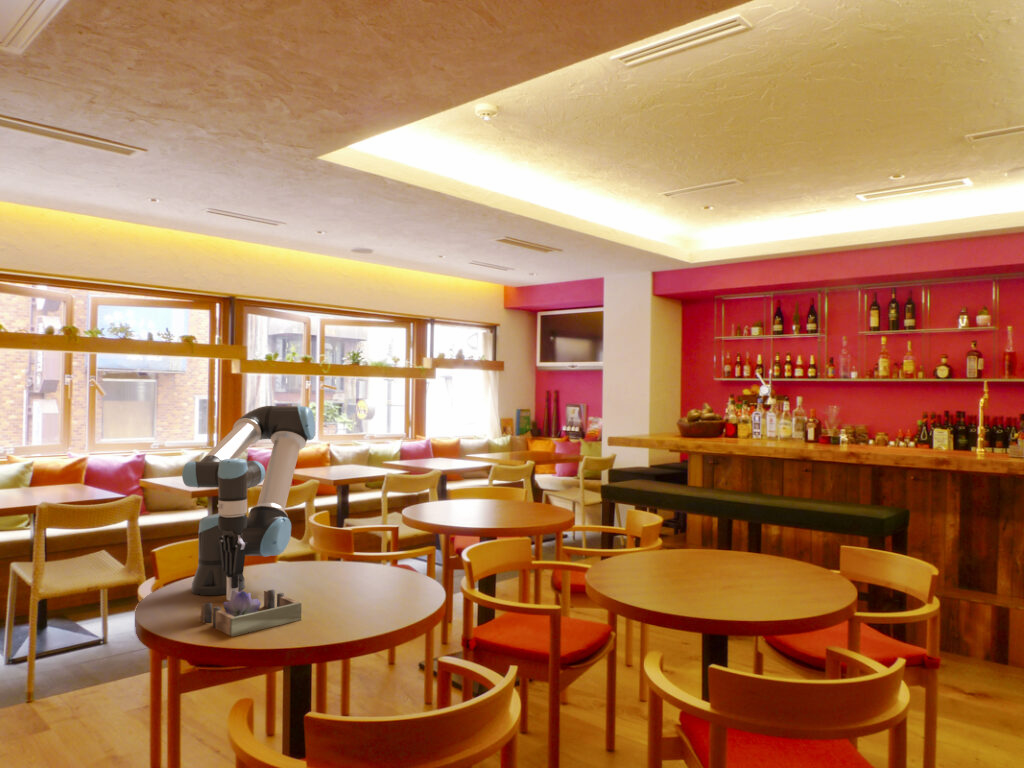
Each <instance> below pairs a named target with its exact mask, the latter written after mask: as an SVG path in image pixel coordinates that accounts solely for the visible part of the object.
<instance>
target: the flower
mask: <svg viewBox="0 0 1024 768" xmlns="http://www.w3.org/2000/svg"><path fill="white" fill-rule="evenodd" d="M261 603H262V602H261V601H260V600H259V599H258V598H252V593H251V592H246V591H243V589H241V590H239V591H237V592H236V590H233V591H232V594H231V600H228V601H224V602H223V604H222V605H223V608H224V612H226V613H228V614H230V615H232V616H234V617H236V616H241V615H245V614H249V613H254V612H258V611H259V609H260V606H261Z"/></svg>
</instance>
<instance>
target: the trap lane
mask: <svg viewBox="0 0 1024 768" xmlns="http://www.w3.org/2000/svg"><path fill="white" fill-rule="evenodd" d="M275 591H276V590H275V589H268V590H264V591H263V607H264V608H266V607H267V608H266V609H263V610H258V611H257V612H254V613H249V614H245V615H241V616H236V617H234V616H232V615H230V614H228V613H226V611H225V610H221V609H222V608H221V607H222V606H213V603H212V602H206V603H201V604H200V622H202V621H204V622H203V623H204V624H205V623H210V624H212V629H216V628H217V629H216V630H218V629H219V630H218V631H220V630H221V631H220V632H222V631H223V633H224V634H226V635H228V636H230V637H232V638H233V637H236V636H240V635H245V634H248V632H249V633H252V631H253V632H257V631H261V630H265V629H269V628H273V627H277V626H281V625H285V624H288V623H289V624H290V623H292V622H293V623H294V622H298V621H301V620H302V602H300V601H298V600H294V599H292V598H289V597H287V596H285V593H284V592H279V593H277V594H275V593H276V592H275ZM275 598H276V601H275ZM275 603H276V604H275ZM275 605H276V607H275ZM260 629H261V630H260ZM256 630H257V631H256Z"/></svg>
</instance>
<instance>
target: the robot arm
mask: <svg viewBox="0 0 1024 768" xmlns="http://www.w3.org/2000/svg"><path fill="white" fill-rule="evenodd" d="M315 435H316V421H315V416H314V412H313V410H312V409H311V408H310V407H309V406H303V405H301V406H300V405H297V406H296V405H263V406H259V407H256V408H255V409H253V410H250V411H249V412H247V413H245V414H243V415H242V416H241V417H240V418H238V419H237V420H236V421H235V423H234V424H233V426H232V430H230V432H228V433H227V435H225V436H224V437H223V438H222V439H221V440H220V442H218V443H217V444H216V445H215V446H214V447H213V448H212V449H211V450H210V451H209V452H207V454H206V455H204V457H203V458H202V459H201V460H199V461H197V460H193V461H188V462H186V463H185V464H184V466H183V469H182V471H181V473H182V474H181V478H182V481H183V484H184V485H185V486H186V487H188V488H197V489H199V488H217V489H218V490H217V491H218V498H217V500H218V504H217V505H216V507H217V508H218V509H217V510H218V512H217V513H215V514H209V515H206V516H203V517H202V518H201V519H200V520H199V525H198V565H197V568H196V571H195V574H194V577H193V580H192V582H191V592H192V594H194V593H195V594H194V595H198V594H200V596H219V595H226V600H227V601H230V600H231V594H232V591H233V590H236V592H237V591H238V592H240V590H243V589H245V587H246V586H245V584H246V583H245V581H246V580H245V576H244V569H245V567H244V566H245V559H246V556H250V557H251V556H252V557H270V556H272V557H273V556H279V555H280V554H282V553H284V551H285V550H286V549H287V547H288V545H289V543H290V540H291V536H292V535H291V534H292V522H291V521H290V518H289V516H288V514H287V512H286V511H285V510H286V507H287V502H288V497H289V494H290V490H291V485H292V482H293V477H294V473H295V469H296V465H297V462H298V457H299V454H300V451H301V450H303V449H304V448H305V447H306V446H307V441H312V440H313V439H314V438H315ZM260 440H261V441H262V440H270V441H271V443H272V444H273V446H272V450H271V453H270V458H269V461H268V464H267V467H266V468H265V466H264V465H263V464H262V463H261V462H260V461H258V460H257V461H256V460H246V459H244V458H240V456H241V455H242V454H243V453H244V452H245V451H246V450H247V449H248V448H249V447H250V446H251V445H254V444H256V443H258V442H259V441H260ZM261 483H262V484H261ZM259 484H261V489H260V493H259V496H258V501H257V503H256V505H255V506H253V507H251V509H250V510H249V514H248V515H247V513H248V489H250V488H254V487H256V486H258V485H259Z"/></svg>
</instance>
